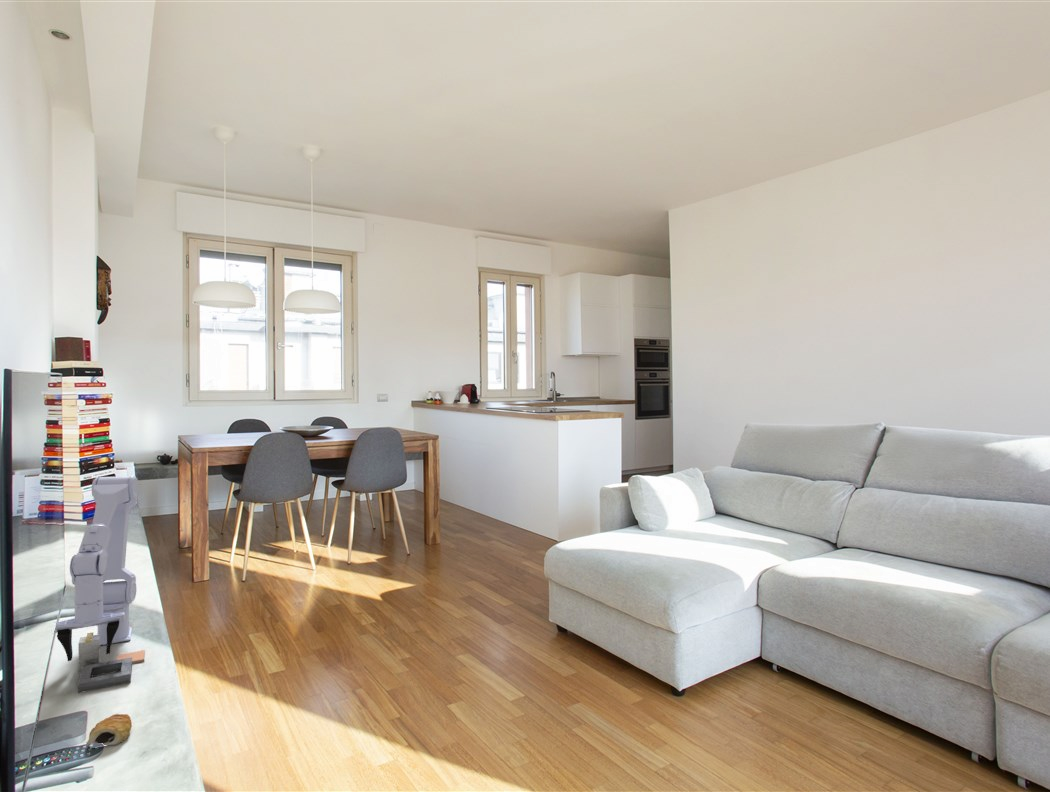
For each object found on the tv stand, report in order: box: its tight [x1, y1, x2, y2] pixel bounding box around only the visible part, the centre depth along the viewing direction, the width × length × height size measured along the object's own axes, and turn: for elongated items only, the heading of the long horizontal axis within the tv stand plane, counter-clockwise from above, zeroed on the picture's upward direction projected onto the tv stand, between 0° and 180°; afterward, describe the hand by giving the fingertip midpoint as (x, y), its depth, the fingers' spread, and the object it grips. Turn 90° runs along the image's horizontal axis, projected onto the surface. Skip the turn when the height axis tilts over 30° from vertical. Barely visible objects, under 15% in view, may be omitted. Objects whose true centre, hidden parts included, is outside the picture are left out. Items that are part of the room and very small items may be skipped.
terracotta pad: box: [115, 649, 146, 665], centre depth 157 cm, size 6×6×1 cm
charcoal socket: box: [77, 657, 133, 694], centre depth 147 cm, size 10×10×2 cm
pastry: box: [86, 713, 133, 747], centre depth 124 cm, size 9×7×4 cm
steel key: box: [78, 632, 101, 673], centre depth 153 cm, size 5×4×8 cm
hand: (89, 655), depth 153 cm, fingers open, 7 cm apart
